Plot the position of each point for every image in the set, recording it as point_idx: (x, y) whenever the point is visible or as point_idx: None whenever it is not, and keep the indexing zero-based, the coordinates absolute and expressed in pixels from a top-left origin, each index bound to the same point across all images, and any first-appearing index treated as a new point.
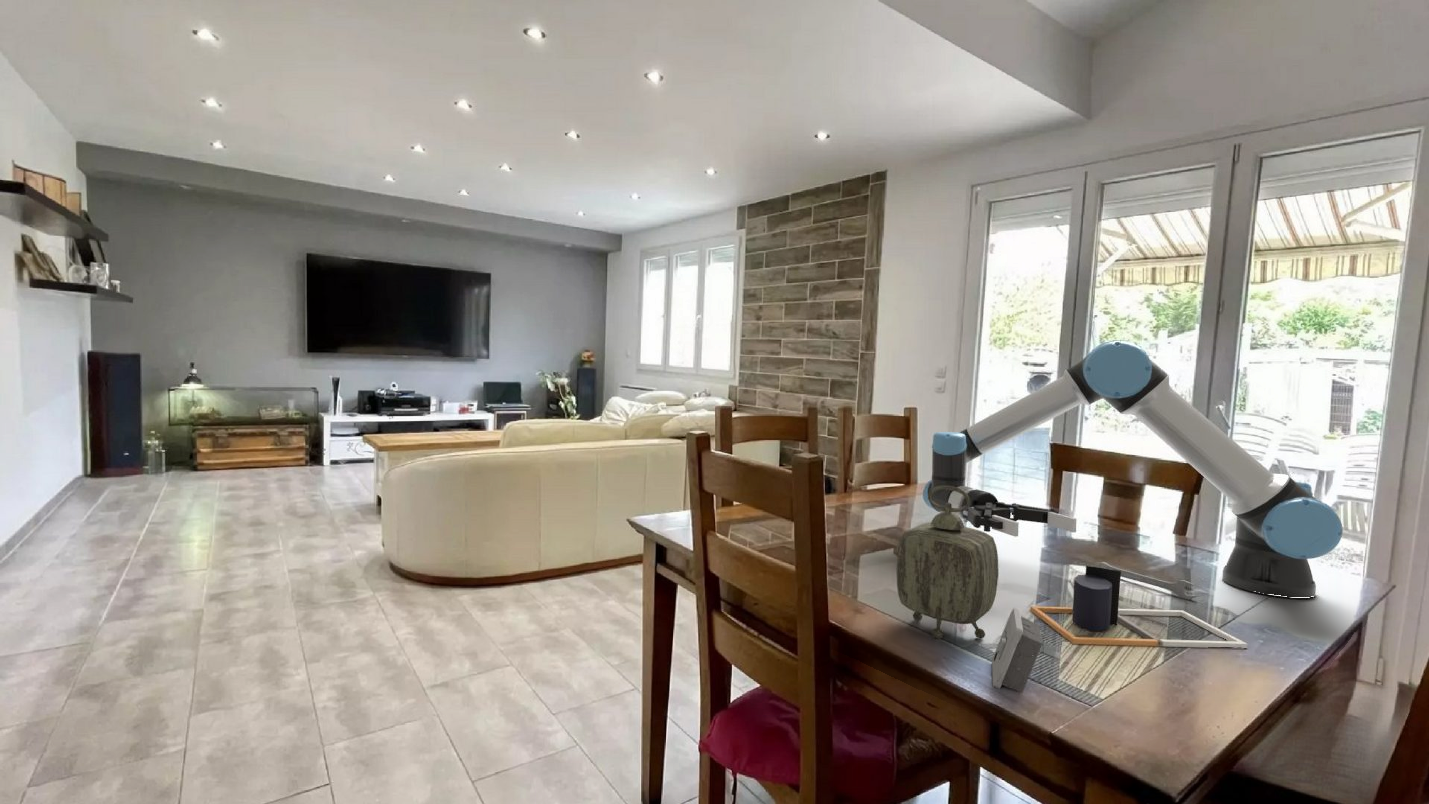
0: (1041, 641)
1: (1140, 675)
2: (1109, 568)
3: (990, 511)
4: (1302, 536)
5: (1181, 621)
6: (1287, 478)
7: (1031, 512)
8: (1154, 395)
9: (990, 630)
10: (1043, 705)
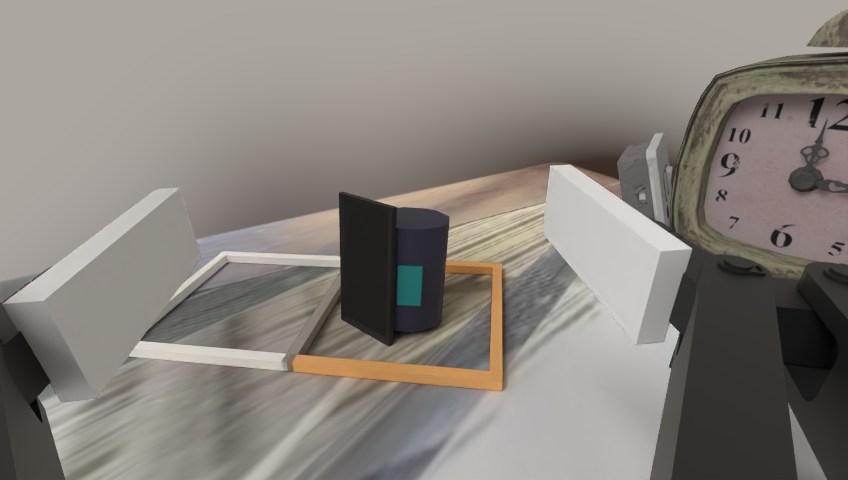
0: (628, 146)
1: (466, 223)
2: (355, 197)
3: (695, 404)
4: None
5: (171, 328)
6: None
7: (27, 448)
8: None
9: None
10: (619, 197)
